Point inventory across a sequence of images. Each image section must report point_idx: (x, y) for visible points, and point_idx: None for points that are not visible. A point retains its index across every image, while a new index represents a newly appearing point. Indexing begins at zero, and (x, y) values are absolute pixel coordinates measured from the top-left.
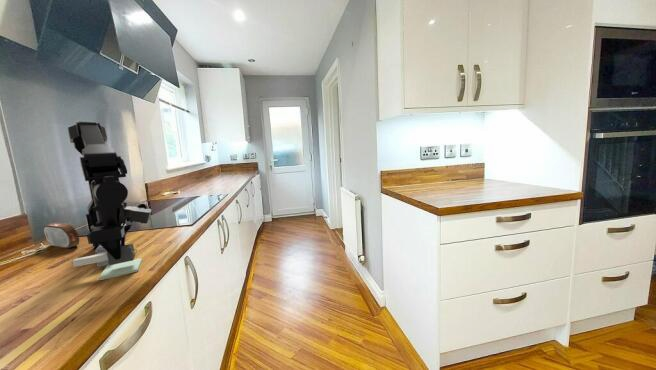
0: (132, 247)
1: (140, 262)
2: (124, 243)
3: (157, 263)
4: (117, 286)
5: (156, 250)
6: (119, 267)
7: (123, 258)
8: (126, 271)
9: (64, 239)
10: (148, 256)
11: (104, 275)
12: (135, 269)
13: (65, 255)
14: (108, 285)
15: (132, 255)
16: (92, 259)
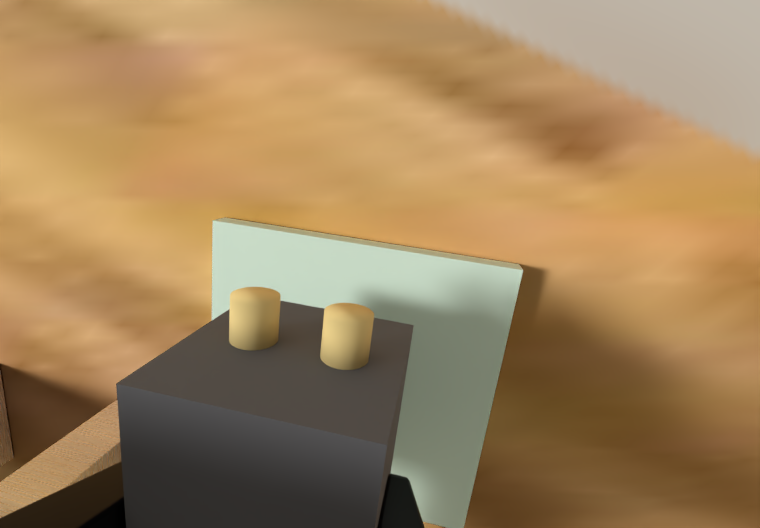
0: (241, 378)
1: (324, 237)
2: (79, 517)
3: (440, 75)
4: (753, 424)
5: (23, 81)
6: None
7: (394, 437)
8: (491, 358)
9: None
10: (156, 161)
11: (435, 497)
12: (508, 287)
13: None
14: (648, 473)
15: (380, 347)
16: None
